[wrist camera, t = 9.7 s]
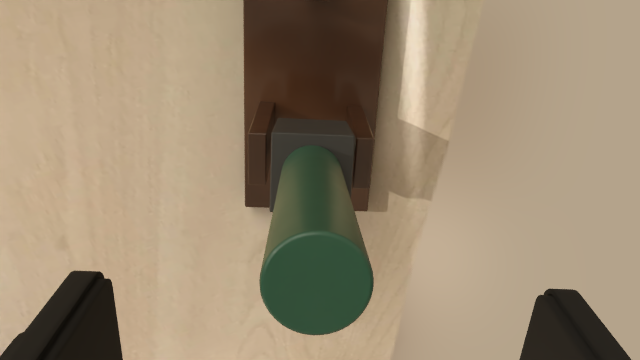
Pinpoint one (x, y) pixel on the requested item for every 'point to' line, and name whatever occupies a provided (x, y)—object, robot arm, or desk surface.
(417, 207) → the desk surface
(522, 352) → the robot arm
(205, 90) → the desk surface
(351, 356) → the desk surface
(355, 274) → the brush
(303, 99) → the stand
